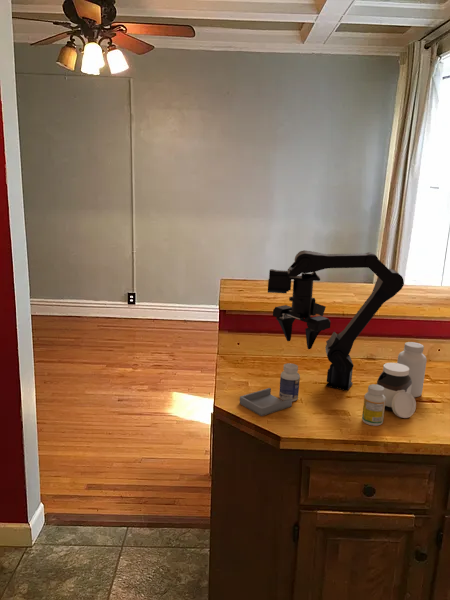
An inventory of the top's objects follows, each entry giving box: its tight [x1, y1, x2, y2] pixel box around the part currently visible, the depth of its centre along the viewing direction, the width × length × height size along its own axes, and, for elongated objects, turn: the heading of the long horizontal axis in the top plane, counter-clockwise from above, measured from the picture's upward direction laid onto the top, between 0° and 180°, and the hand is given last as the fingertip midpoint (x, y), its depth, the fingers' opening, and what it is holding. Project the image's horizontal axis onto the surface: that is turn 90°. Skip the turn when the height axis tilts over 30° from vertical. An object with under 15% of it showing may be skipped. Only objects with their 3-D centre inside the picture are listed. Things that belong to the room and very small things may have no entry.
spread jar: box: [376, 362, 417, 419], centre depth 147 cm, size 12×11×12 cm
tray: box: [239, 387, 293, 417], centre depth 147 cm, size 11×9×2 cm
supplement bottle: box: [361, 383, 386, 426], centre depth 139 cm, size 5×5×10 cm
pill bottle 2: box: [396, 341, 427, 398], centre depth 158 cm, size 8×8×15 cm
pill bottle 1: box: [278, 362, 301, 402], centre depth 151 cm, size 5×5×10 cm
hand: (298, 344), depth 161 cm, fingers open, 8 cm apart
